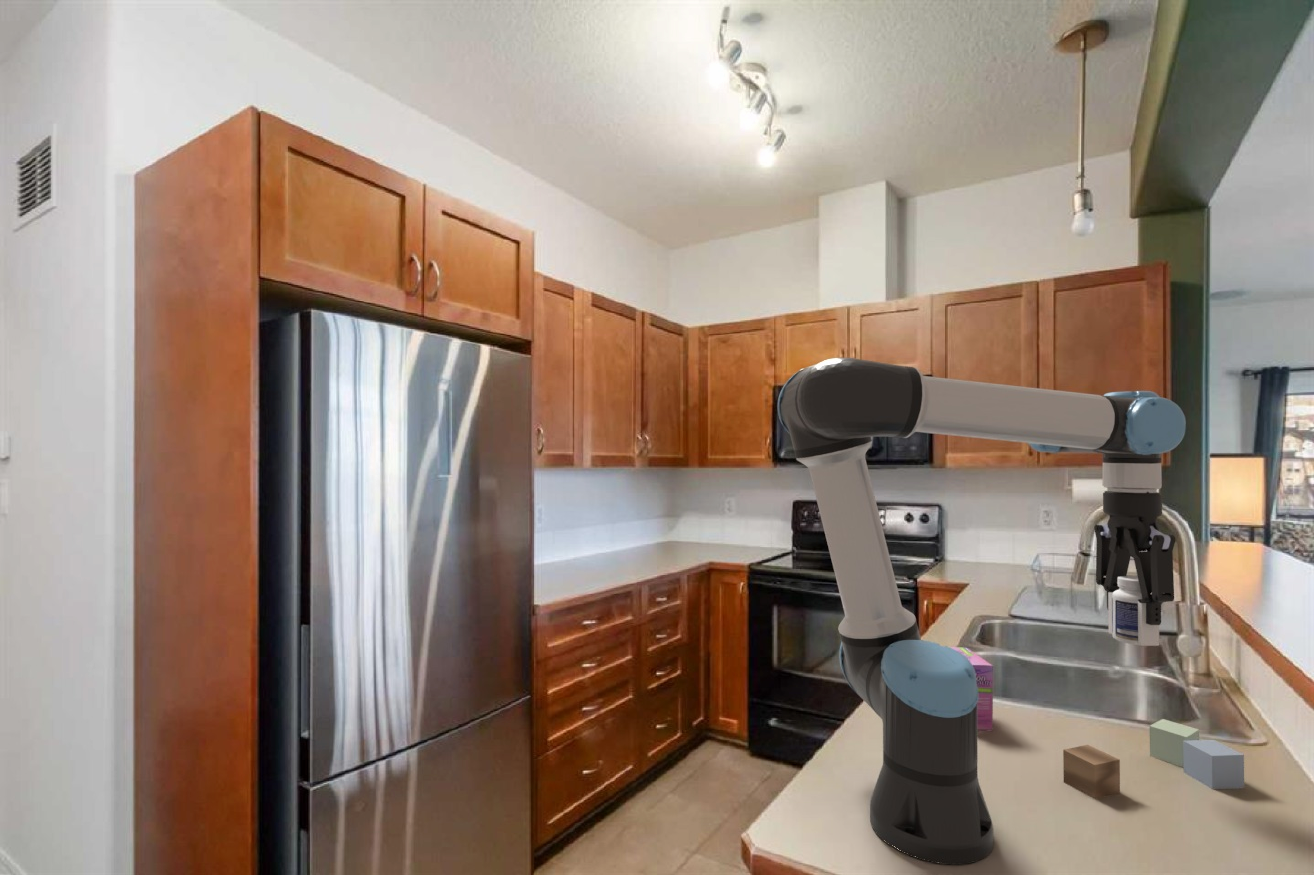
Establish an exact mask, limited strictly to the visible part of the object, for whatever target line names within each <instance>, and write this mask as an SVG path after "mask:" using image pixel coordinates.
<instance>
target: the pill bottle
mask: <svg viewBox="0 0 1314 875" xmlns="http://www.w3.org/2000/svg"><path fill="white" fill-rule="evenodd" d="M1117 584H1118V587H1119V590H1116V591H1114V592H1113V594H1112V634H1111V635H1112V638H1113V639H1114V640H1116V641H1118V642H1120V643H1124V644H1129V645H1135V646H1140V645H1139V644H1138V599H1142V594H1141V590H1140V585H1139V580H1138V576H1120V577H1118V580H1117Z"/></svg>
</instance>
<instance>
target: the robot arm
mask: <svg viewBox="0 0 1314 875" xmlns="http://www.w3.org/2000/svg"><path fill="white" fill-rule="evenodd" d="M777 415H778V418H779V421H780V423H781V425H782V427H783V428H784V430H785V431H786V432H787V433H788V434H789V435H790V440H791V442H792V444H791V445H792V447H793V452H794V455H795V456H794V457H795V460H796V461H797V462H799V463H801V464H802V465H805V467H807V469H808V470H809V475H810V478H811V479H810V480H811V481H812V482H811V483H812V487H813V491H814V495H815V498H816V503H817V507H818V511H819V514H820V520H821V524H822V527H823V531H824V534H825V539H826V542H827V543H826V544H827V546H828V552H829V555H830V556H829V557H830V559H831V563H832V568H833V571H834V572H833V573H834V576H835V579H836V584H837V588H838V592H839V596H840V600H841V604H842V608H843V612H844V617H843V619H842V620H841V621H840V623H839V625H838V627H837V629H838V633H839V637H840V641H841V642H840V645H839V651H838V659H839V666H840V669H841V671H842V674H843V676H844V679H845V680H846V683H847V684H848V685H849V687H850V688H851V690H852V691H853V692H854V693H855V694H856V695H858V696H859V697H860V698H861V699H862V700H863V701H864V702H865V703H866V704H867V705H868V707H870V709H872V710H873V711H874V712H875V714H876V715H877V716H878V717H879V718H880V719H881V720H882V749H883V750H882V757H883V758H882V766H881V768H880V772H879V774H878V778H877V780H876V783H875V785H874V789H873V792H872V794H871V797H870V803H869V819H870V820H869V821H870V826H871V828H872V829H873V831H874V832H875V834H876V835H878V837H879V838H880V839H881V838H882V839H881V840H882V841H884V840H885V841H886V842H887V843H886V842H885V841H884V842H885V843H886V844H888V843H889V844H890V845H889V844H888V845H889V846H891V845H893V846H895V847H896V848H898V849H899V850H901V851H903V852H905V853H908V854H909V855H908V854H907V855H908V856H910V855H912V856H911V857H913V856H916V857H918V858H917V859H919V858H920V859H919V860H922V859H925V860H924V861H926V860H929V861H928V862H930V861H933V862H932V863H935V862H939V863H938V864H942V863H944V864H943V865H964V864H971V863H975V862H978V861H981V860H983V859H984V858H986V857H987V856H989V855H990V853H991V852H992V850H993V848H994V826H993V821H992V818H991V815H990V812H989V809H988V806H987V804H986V801H985V797H984V794H983V791H982V788H981V785H980V783H979V779H978V731H977V702H978V696H979V694H978V686H977V682H976V673H975V670H974V667H973V665H972V664H971V662H970V661H969V660H968V659H967V658H966V657H965V656H964V655H962V654H961V653H959V652H958V651H956V650H954V649H952V648H950V647H951V646H947V645H944V646H943V645H940V643H937V642H934V641H930V640H928V641H927V640H923V639H921V634H920V630H919V627H918V623H917V618H916V616H915V614H914V613H913V612H911V611H910V610H908V609H906V608H905V607H903V605H902V601H901V598H900V594H899V589H898V585H897V580H896V578H895V577H896V576H895V572H894V570H893V564H892V561H891V558H890V552H889V548H888V545H887V542H886V537H885V533H884V529H883V525H882V520H881V516H880V513H879V508H878V505H877V501H876V496H875V492H874V488H873V484H872V480H871V476H870V472H869V468H868V464H867V460H866V453H867V452H868V450H869V449H870V447H871V446H872V444H873V441H872V438H873V437H878V438H879V437H890V438H891V437H892V438H902V439H907V438H909V437H911V436H912V435H913V434H914V433H925V434H934V435H944V436H945V435H946V436H954V437H955V436H956V437H963V438H964V437H965V438H977V439H985V440H993V441H995V440H996V441H1003V442H1004V441H1005V442H1006V441H1007V442H1016V443H1025V444H1028V445H1029V446H1030V448H1032V449H1033V450H1034V451H1036V452H1038V453H1051V454H1058V453H1059V454H1060V453H1061V454H1062V453H1063V454H1064V453H1065V454H1066V453H1076V454H1077V453H1078V454H1102V480H1101V481H1102V482H1101V483H1102V486H1103V488H1106V490H1104V492H1103V493H1102V511H1103V514H1105V515H1108V516H1109V518H1108V521H1107V523H1105V524H1095V525H1094V527H1093V529H1094V530H1093V531H1094V534H1095V538H1096V547H1095V548H1096V552H1095V553H1096V554H1095V555H1096V556H1095V557H1096V560H1095V583H1096V585H1098V586H1102V587H1103V588H1104V591H1106V608H1107V611H1108V634H1111V635H1113V634H1112V594H1113V592H1114V591H1116V590H1119V587H1118V584H1117V580H1118V577H1120V576H1127V575H1128V574H1127V573H1128V570H1129V565H1130V561H1131V558H1133V561H1134V565H1135V571H1136V574H1137V575H1136V577H1138V580H1139V585H1140V590H1141V594H1142V599H1138V644H1139V645H1138V646H1143V647H1146V646H1147V647H1149V646H1153V647H1156V646H1160V626H1161V624H1162V605H1163V603H1166V602H1173V601H1175V587H1174V583H1175V582H1174V561H1173V560H1174V557H1173V554H1174V553H1173V552H1174V546H1175V545H1176V544H1175V543H1176V536H1174V535H1173V534H1165V533H1163V532H1161V531H1160V528H1159V526H1158V523H1157V519H1158V518H1159V517H1161V516H1162V515H1163V494H1161V493H1160V492H1157V490H1160V489H1161V488H1162V484H1163V483H1162V480H1163V479H1162V477H1163V476H1162V454H1165V453H1168V452H1170V451H1172V450H1174V449H1175V448H1177V447H1178V445H1180V443H1181V442H1182V440H1183V439H1184V437H1185V436H1186V435H1185V434H1186V429H1187V427H1186V425H1187V422H1186V416H1185V414H1184V412H1183V410H1182V408H1181V407H1180V406H1179V405H1178V404H1177V403H1175V402H1174V401H1173V400H1170V399H1168V398H1166V397H1162V396H1161V397H1160V396H1159V394H1158V393H1156V392H1155V391H1149V390H1134V391H1132V390H1130V391H1127V390H1126V391H1112V392H1107V393H1104V394H1103V395H1100V394H1092V393H1086V392H1085V393H1083V392H1074V391H1067V390H1056V389H1049V388H1048V389H1046V388H1037V387H1028V386H1019V385H1018V386H1017V385H1012V384H1010V385H1009V384H1001V383H991V382H981V381H974V380H973V381H972V380H965V379H956V378H955V379H954V378H944V377H936V376H927V375H923V373H922V372H921V370H919V369H918V368H917V367H913V366H906V365H905V366H904V365H900V364H899V365H898V364H891V363H886V362H885V363H884V362H881V361H880V362H878V361H873V360H868V359H861V358H855V357H833V358H827V359H825V360H822V361H820V362H818V363H816V364H813V365H810V366H809V365H808V366H807V367H804V368H801V369H799V370H798V371H797V372H795V373H794V374H793V375H792V376H791V377H790V378H789V379H787V381H786V382H785V384H784V385H783V386H782V387H781V390H780V392H779V395H778V399H777ZM896 848H895V849H896ZM899 850H898V851H899ZM901 851H900V852H901ZM903 852H902V853H903ZM905 853H904V854H905ZM916 857H915V858H916ZM945 863H946V864H945Z"/></svg>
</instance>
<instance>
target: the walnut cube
mask: <svg viewBox="0 0 1314 875" xmlns="http://www.w3.org/2000/svg"><path fill="white" fill-rule="evenodd" d="M1062 750H1063V753H1062V754H1063V755H1062V756H1063V760H1062V762H1063V763H1062V764H1063V768H1062V770H1063V783H1064V784H1067V785H1068V786H1069V787H1072V788H1074V789H1075V790H1078V791H1079V792H1081V793H1083V794H1085V795H1086V796H1089V797H1090V798H1092V799H1093V800H1096V799H1100V798H1105V797H1106V798H1107V797H1109V796H1114V795H1118V794H1121V770H1120V769H1121V762H1120V758H1117V757H1115V756H1113V755H1111V754H1109V753H1106V752H1104V751H1103V750H1100V749H1098V748H1096V747H1094V746H1093V745H1092V746H1091V745H1089V744H1085V745H1079V746H1075V747H1069V748H1065V749H1062Z"/></svg>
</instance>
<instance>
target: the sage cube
mask: <svg viewBox="0 0 1314 875" xmlns="http://www.w3.org/2000/svg"><path fill="white" fill-rule="evenodd" d="M1188 740H1200V729H1199V728H1194V727H1192V726H1189V725H1185V724H1181V723H1179V722H1174V721H1172V720H1168V719H1164V718H1162V719H1161V718H1160V719H1159V720H1158V721H1156V722H1154V723H1152V724H1151V725H1149V756H1150V757H1152V758H1155V759H1158V760H1160V761H1164V762H1167V763H1169V764H1172V765H1176V766H1178V767H1181V768H1183V741H1188Z"/></svg>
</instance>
